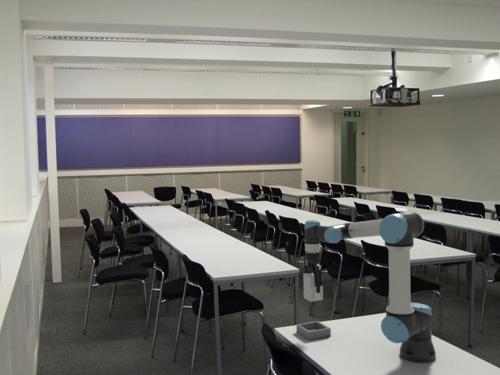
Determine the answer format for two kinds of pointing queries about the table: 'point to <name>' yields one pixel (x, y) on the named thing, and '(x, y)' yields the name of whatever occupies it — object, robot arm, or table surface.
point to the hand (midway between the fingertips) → (313, 296)
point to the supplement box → (311, 287)
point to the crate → (313, 330)
